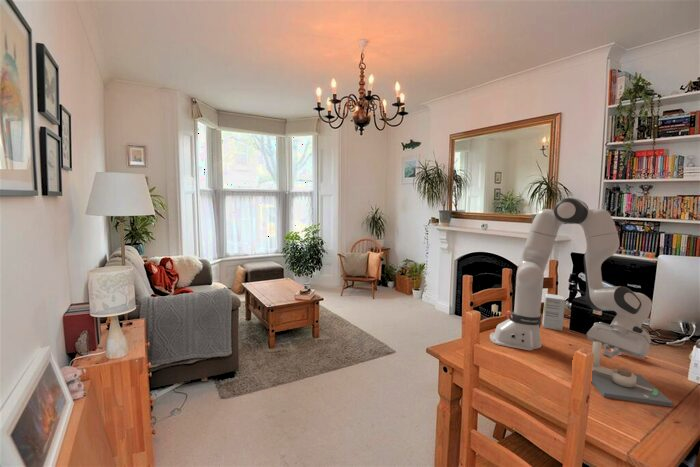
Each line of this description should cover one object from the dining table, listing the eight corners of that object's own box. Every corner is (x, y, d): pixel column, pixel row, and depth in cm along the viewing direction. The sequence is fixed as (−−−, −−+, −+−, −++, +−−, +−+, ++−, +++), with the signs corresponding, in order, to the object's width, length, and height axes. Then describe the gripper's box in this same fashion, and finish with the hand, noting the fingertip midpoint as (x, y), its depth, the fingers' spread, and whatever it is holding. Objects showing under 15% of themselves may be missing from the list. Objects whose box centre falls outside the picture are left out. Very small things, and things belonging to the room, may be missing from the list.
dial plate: (603, 397, 124) (604, 392, 124) (581, 370, 143) (582, 366, 143) (672, 407, 119) (673, 401, 119) (640, 378, 138) (640, 373, 138)
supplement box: (542, 322, 201) (544, 293, 199) (561, 325, 197) (563, 295, 195) (542, 327, 192) (545, 297, 190) (562, 331, 188) (565, 299, 187)
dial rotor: (653, 387, 128) (657, 354, 127) (650, 394, 123) (654, 360, 122) (592, 369, 141) (595, 339, 140) (587, 374, 136) (590, 343, 135)
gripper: (593, 316, 151) (577, 341, 148) (651, 332, 133) (633, 362, 130) (599, 325, 154) (582, 350, 150) (656, 342, 135) (639, 372, 132)
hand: (606, 356), depth 140 cm, fingers closed
